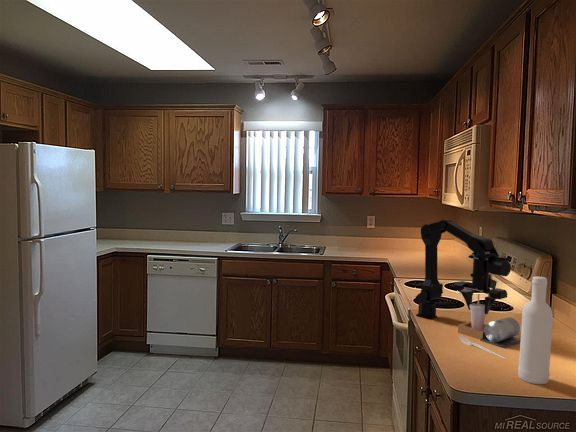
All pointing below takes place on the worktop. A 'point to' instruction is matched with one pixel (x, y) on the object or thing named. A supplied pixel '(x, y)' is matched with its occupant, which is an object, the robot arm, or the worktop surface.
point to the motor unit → (494, 332)
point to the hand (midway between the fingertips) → (478, 312)
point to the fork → (478, 346)
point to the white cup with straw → (477, 315)
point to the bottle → (536, 336)
